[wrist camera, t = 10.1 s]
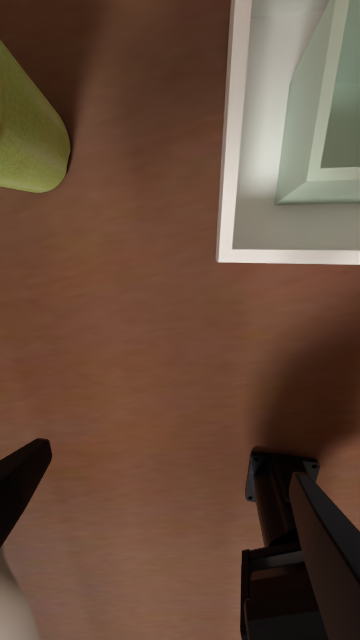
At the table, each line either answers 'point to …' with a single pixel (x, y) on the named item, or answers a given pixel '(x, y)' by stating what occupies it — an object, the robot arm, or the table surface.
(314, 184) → the small crate
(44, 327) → the table surface
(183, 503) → the table surface
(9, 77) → the plant pot
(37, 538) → the table surface
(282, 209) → the big crate
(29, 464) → the robot arm
